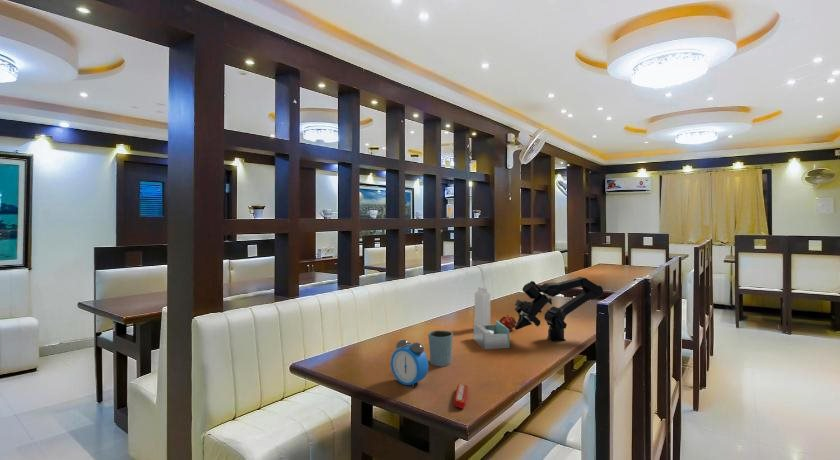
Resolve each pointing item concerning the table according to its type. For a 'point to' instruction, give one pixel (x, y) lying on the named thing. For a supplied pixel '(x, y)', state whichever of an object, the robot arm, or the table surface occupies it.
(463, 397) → the candy bar
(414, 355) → the alarm clock
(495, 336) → the dock
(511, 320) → the dragon fruit
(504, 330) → the drawer
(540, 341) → the table surface
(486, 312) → the milk
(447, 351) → the grey-green cup
